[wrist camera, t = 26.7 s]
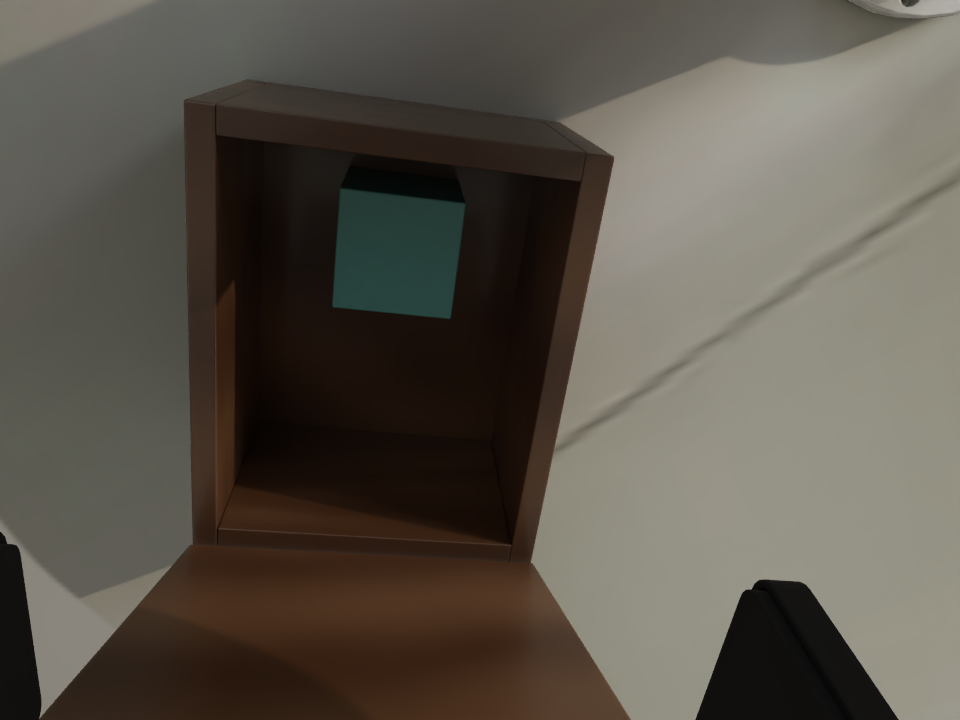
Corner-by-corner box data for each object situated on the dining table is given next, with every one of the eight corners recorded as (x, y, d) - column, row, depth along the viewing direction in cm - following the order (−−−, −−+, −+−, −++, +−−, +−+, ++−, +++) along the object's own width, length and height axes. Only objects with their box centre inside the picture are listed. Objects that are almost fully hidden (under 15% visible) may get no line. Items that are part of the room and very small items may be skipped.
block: (341, 271, 32) (332, 307, 28) (349, 165, 30) (339, 187, 26) (445, 282, 32) (450, 319, 28) (458, 179, 31) (466, 203, 26)
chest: (245, 79, 29) (182, 98, 21) (561, 122, 31) (614, 156, 23) (241, 428, 35) (192, 546, 27) (504, 447, 37) (530, 565, 29)
